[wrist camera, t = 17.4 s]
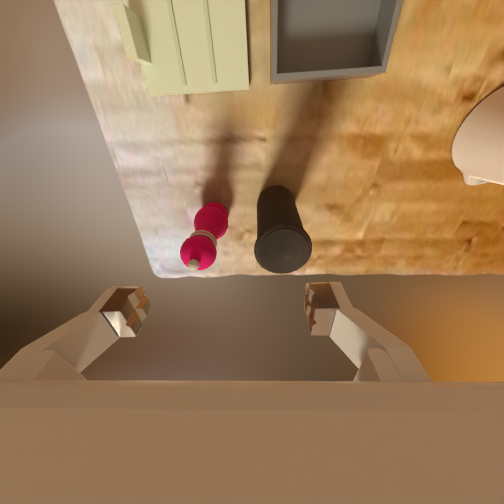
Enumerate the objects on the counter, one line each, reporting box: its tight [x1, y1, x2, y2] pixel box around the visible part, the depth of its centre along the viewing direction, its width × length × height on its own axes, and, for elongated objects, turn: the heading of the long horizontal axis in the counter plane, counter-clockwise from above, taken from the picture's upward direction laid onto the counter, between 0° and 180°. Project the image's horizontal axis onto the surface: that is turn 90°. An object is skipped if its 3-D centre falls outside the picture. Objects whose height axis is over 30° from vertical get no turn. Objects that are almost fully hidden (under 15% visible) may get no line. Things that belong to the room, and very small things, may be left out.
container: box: [254, 186, 312, 274], centre depth 38 cm, size 9×9×20 cm
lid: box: [112, 0, 249, 97], centre depth 29 cm, size 17×13×6 cm
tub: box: [270, 0, 402, 85], centre depth 28 cm, size 16×12×6 cm
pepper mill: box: [180, 202, 228, 270], centre depth 40 cm, size 7×7×20 cm
